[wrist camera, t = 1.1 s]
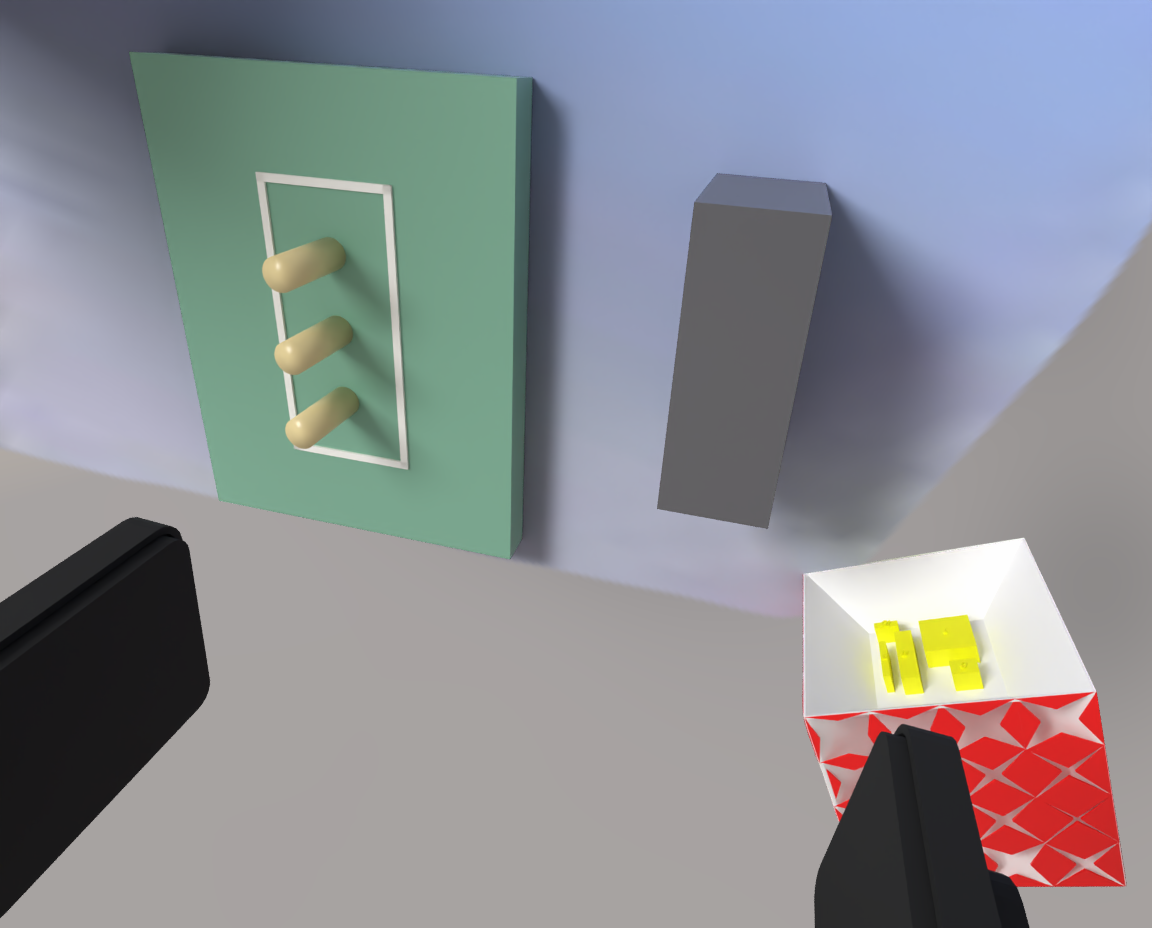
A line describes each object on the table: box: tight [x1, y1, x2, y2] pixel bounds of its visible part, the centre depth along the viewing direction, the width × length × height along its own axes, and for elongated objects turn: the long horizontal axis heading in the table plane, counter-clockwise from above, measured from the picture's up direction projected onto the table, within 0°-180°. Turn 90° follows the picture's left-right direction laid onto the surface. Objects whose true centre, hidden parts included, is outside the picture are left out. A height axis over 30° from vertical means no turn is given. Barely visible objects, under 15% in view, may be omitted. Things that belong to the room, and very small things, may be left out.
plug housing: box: [657, 173, 832, 529], centre depth 24 cm, size 3×9×6 cm, turn 177°
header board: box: [129, 52, 533, 559], centre depth 28 cm, size 14×18×5 cm
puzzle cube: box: [803, 538, 1126, 887], centre depth 27 cm, size 8×8×8 cm
